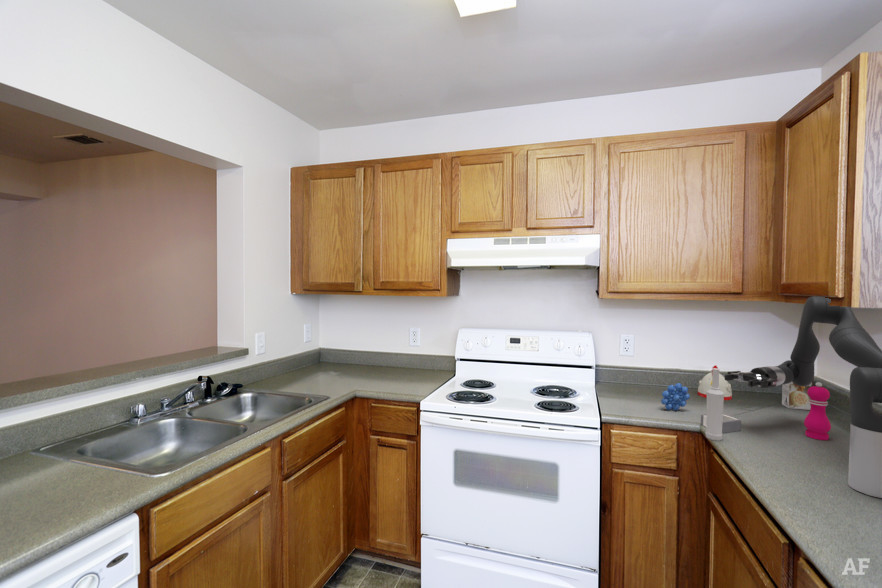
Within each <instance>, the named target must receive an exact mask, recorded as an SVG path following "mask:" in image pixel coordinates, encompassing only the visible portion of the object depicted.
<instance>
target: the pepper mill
mask: <svg viewBox="0 0 882 588" xmlns="http://www.w3.org/2000/svg"><path fill="white" fill-rule="evenodd" d="M807 394H808V396H809V397H810V399H809V403H810V405H811V408H810V410H809V413H808V414H807V415H806V417H805V418H804V420H803V425H804V427H805V428H806V429H805V433H804V434H805V436H806V437H807V438H811V439H815V440H819V441H828V440H829V439H830V438H829V437H830V435H829V432H830V431H831V429H832V425H831V422H830V420H829V418H828V416H827V413H826V407H827V406H828V404H829V401H827V400H829V398H830V397H831V393H830V391H829V390H828V389H827V388H825V387H824V386H823V383H822V382H821V381H820V382H819V381H818V382H816V383H815V386H813V387H810V388H809V389H808V391H807Z"/></svg>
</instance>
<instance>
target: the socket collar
mask: <svg viewBox="0 0 882 588" xmlns="http://www.w3.org/2000/svg"><path fill="white" fill-rule="evenodd" d="M706 423H707V413H705V414H701V415H700V425H701V426H703V427H705V428H706ZM741 428H742V419H739V418H735V417H733V416H730V415H727V414H724V413H723V422H722V434H727V433H736V432H740V431H742V429H741Z"/></svg>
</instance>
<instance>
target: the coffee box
mask: <svg viewBox="0 0 882 588" xmlns="http://www.w3.org/2000/svg"><path fill="white" fill-rule="evenodd" d="M814 381H815V377H814V378H813V381H812V382H811V383H810V384H809V385H807V386H798V385H796V384H794V383H793V382H790V383H788V384H782V385H781V386H782V387H781V405H782V406H784V407H786V408H787V409H793V410H809V411H810V408H811V405H810V403H809V399H810V397H809V396H808V394H807V391H808V389H809V388H810V387H813V386H814V385H815V384H814Z"/></svg>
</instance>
